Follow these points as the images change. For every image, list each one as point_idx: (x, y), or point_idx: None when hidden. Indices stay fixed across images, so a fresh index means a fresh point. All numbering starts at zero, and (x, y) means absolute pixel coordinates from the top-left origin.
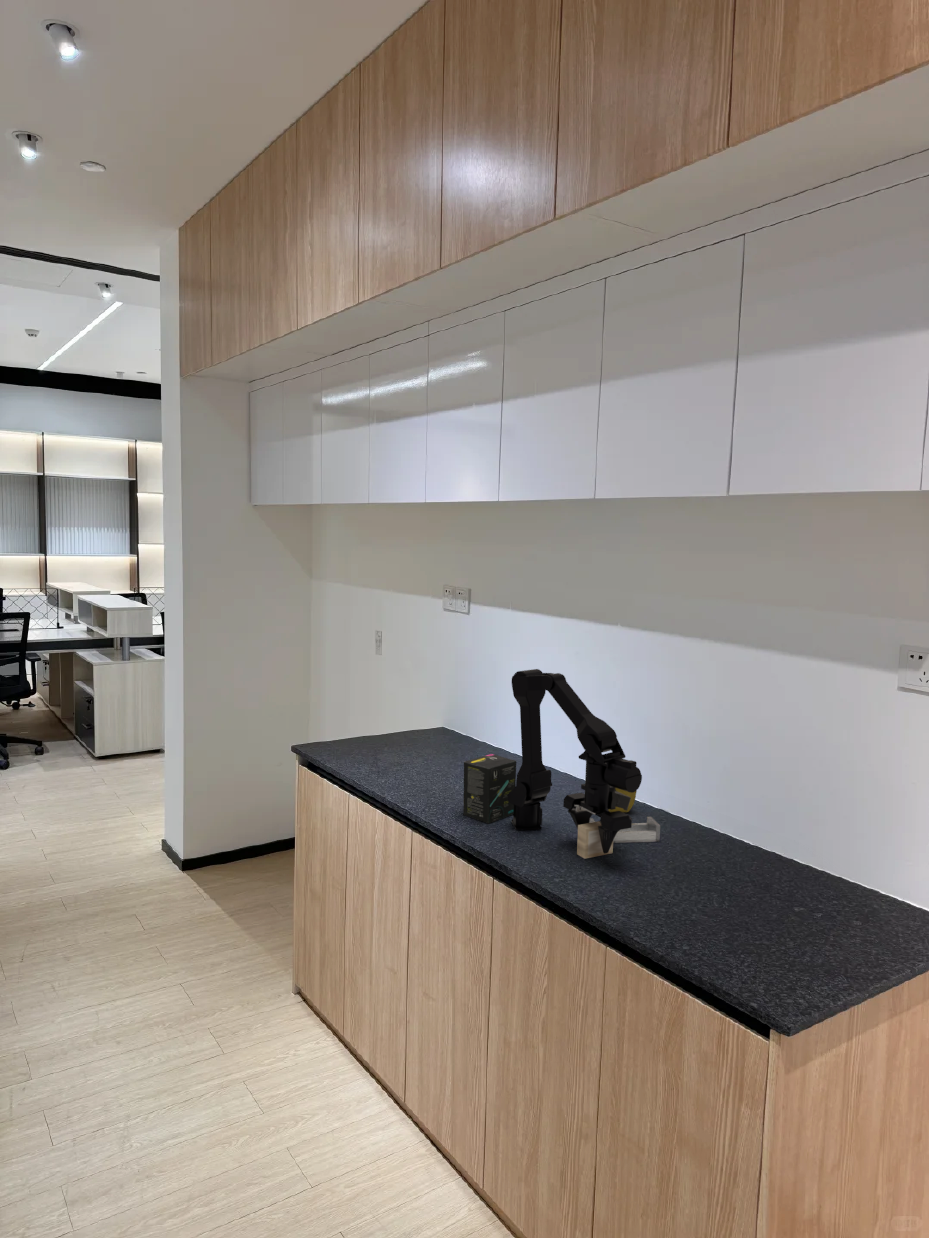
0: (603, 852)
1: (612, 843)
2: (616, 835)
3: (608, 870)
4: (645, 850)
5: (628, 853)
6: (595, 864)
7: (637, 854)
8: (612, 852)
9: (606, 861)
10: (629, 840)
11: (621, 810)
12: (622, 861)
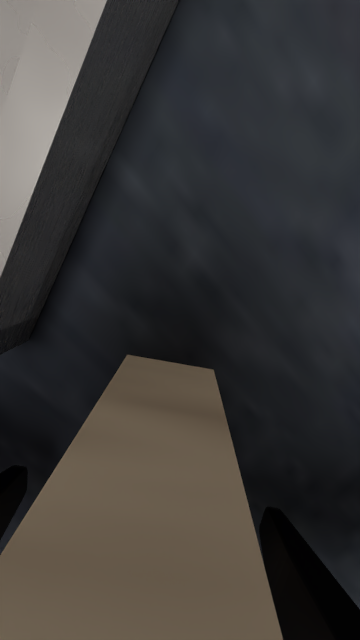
0: (262, 535)
1: (223, 416)
2: (60, 174)
3: (355, 555)
4: (355, 110)
5: (293, 289)
6: (261, 551)
7: (352, 247)
8: (213, 372)
9: (276, 488)
10: (143, 62)
11: None
12: (343, 423)
